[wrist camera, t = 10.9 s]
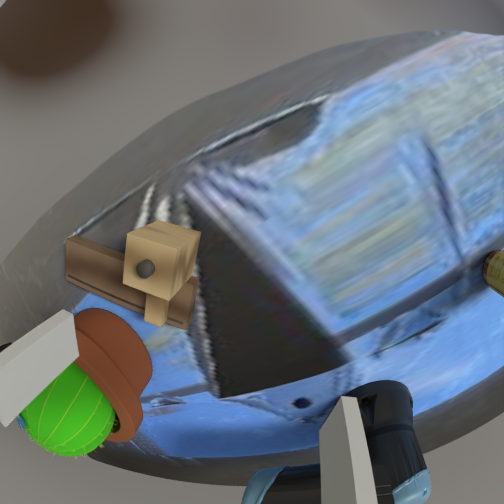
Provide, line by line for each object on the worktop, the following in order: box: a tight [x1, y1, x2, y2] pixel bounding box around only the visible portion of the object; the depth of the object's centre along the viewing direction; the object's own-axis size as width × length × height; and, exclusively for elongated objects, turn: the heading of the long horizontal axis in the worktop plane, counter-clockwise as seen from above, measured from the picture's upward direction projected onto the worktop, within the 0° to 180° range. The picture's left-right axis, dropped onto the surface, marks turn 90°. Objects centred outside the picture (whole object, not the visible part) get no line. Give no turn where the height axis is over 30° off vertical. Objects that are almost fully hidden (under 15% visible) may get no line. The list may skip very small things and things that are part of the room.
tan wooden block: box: [123, 220, 201, 327], centre depth 31 cm, size 12×6×9 cm, turn 165°
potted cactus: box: [16, 308, 152, 457], centre depth 30 cm, size 22×22×25 cm
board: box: [66, 235, 199, 330], centre depth 36 cm, size 7×22×3 cm, turn 75°
